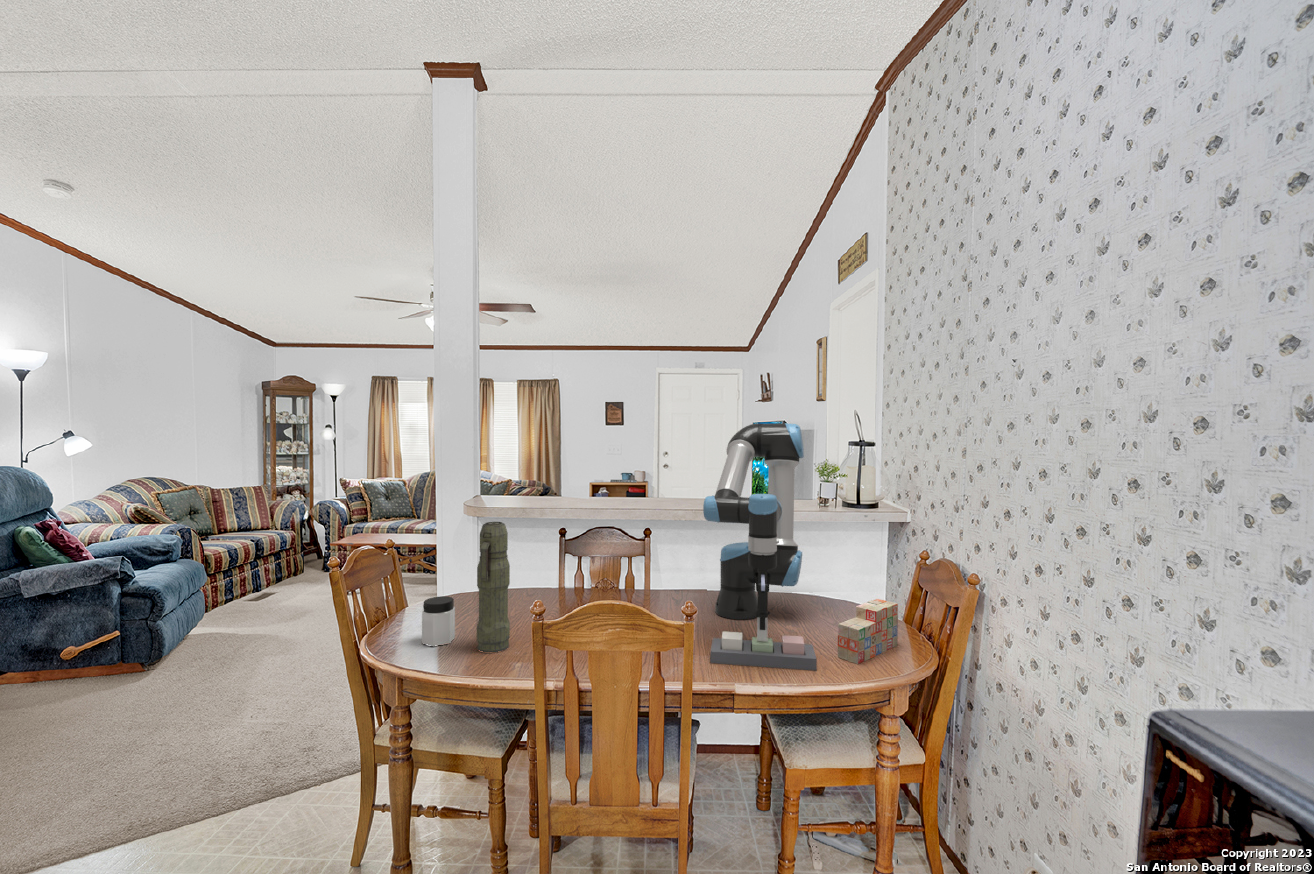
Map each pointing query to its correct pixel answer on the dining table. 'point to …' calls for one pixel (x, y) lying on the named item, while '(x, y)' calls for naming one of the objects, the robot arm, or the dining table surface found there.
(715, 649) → the button panel
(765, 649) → the sage button
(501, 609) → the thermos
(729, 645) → the white button
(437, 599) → the jar
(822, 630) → the dining table surface
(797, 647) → the rose button
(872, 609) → the stack of blocks
